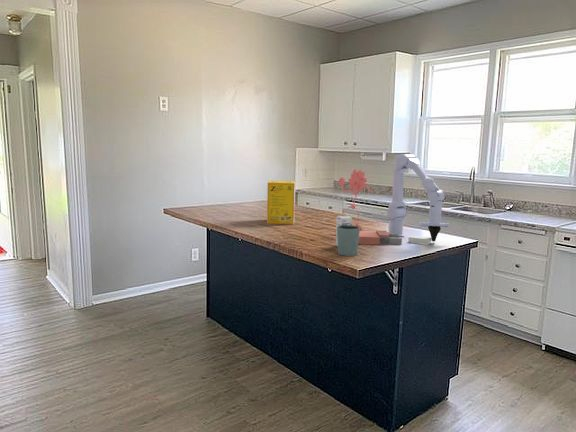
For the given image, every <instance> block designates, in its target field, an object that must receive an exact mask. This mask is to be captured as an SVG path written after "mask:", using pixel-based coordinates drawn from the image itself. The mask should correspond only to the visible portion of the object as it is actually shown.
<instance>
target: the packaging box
mask: <svg viewBox="0 0 576 432" xmlns="http://www.w3.org/2000/svg"><path fill="white" fill-rule="evenodd" d="M266 184H267V189H266V191H267V194H266V195H267V198H266V199H267V200H266V201H267V202H266V224H267V225H268V224H269V225H294V224H295V207H296V206H295V204H296V199H295V198H296V181H291V180H269V181H268V182H267V183H266Z"/></svg>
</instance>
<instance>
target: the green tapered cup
mask: <svg viewBox="0 0 576 432" xmlns="http://www.w3.org/2000/svg"><path fill="white" fill-rule="evenodd" d="M360 227H361V226H360ZM360 227H358V226H356V225H352V226H351V225H341V226H337V240H338V246H337V254H339V255H341V256H347V257H352V256H353V257H354V256H357V255H358V253H359V251H358V250H359V243H358V242H359V232H360Z"/></svg>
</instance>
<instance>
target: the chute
mask: <svg viewBox="0 0 576 432" xmlns="http://www.w3.org/2000/svg"><path fill="white" fill-rule="evenodd" d="M431 242H432V241H431V237H428V236H418V235H409V236H408V242H407V243H413V244H419V245H426V244H429V245H430V244H431Z"/></svg>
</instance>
